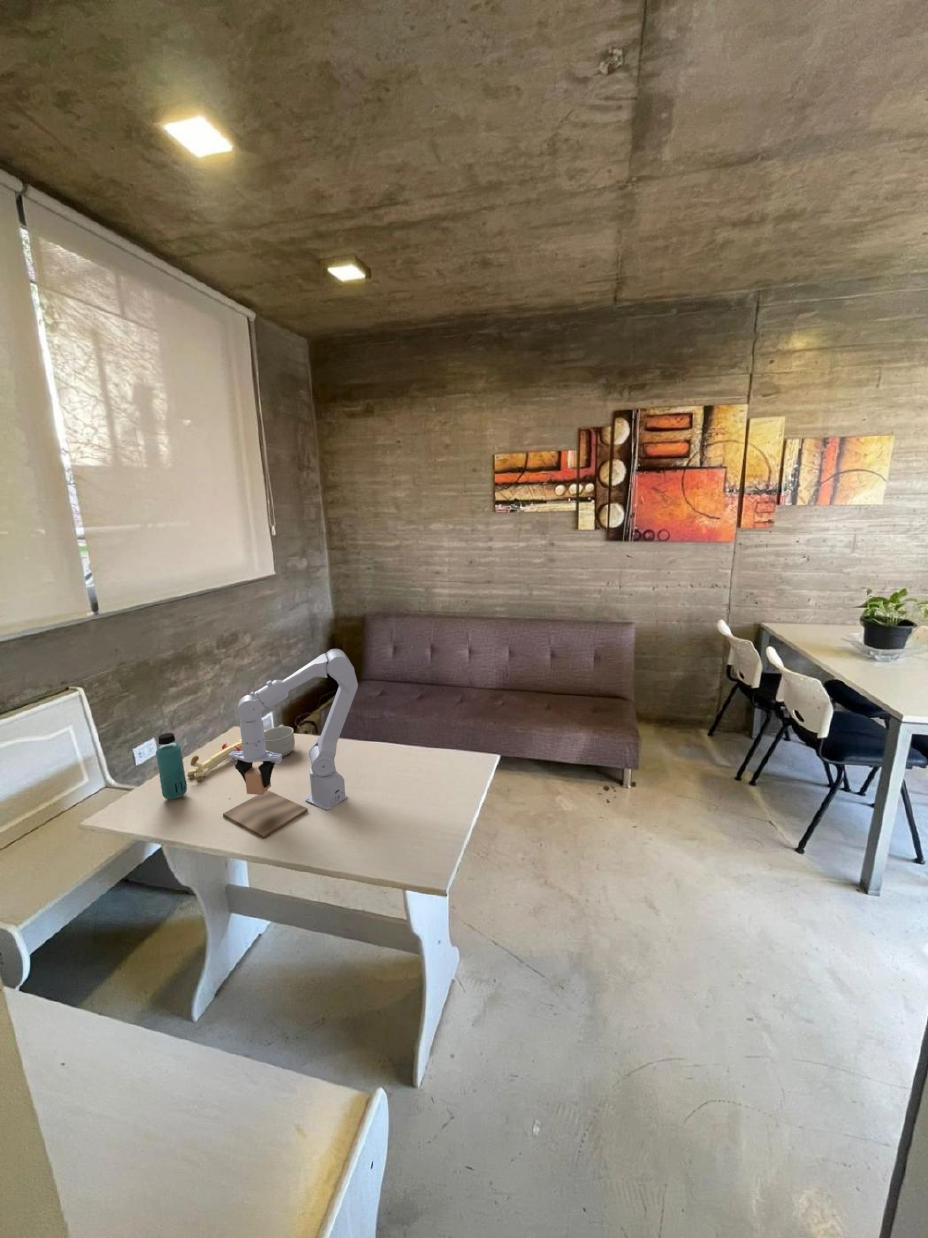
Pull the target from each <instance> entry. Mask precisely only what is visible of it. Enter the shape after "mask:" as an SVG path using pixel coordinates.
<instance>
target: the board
mask: <svg viewBox="0 0 928 1238" xmlns="http://www.w3.org/2000/svg"><path fill="white" fill-rule="evenodd" d="M308 812H309V809H308V808H307V807H306V806H303V805H301V804H299V803H296V802H295V801H293V800H290V799H289V798H286V797H283V796H282V795H279V794H277V793H275V792H273V791H271V790H269V789H268V790H267V791H266V792H265V793H264V794H263V795H254V796H253V797H251V798H250V799H247V800H246V801H244V802H242V803H240V804H238V805H236V806H235V807H233V808H231V809H229V810H227V811H225V812H223V813H222V818H225V819H226V820H228V821H230V822H232V823H234V824H235V825H236V826H239V827H240V828H243V829H244V830H246V831H248V832H249V833H252V834H253V835H256V836H257V837H259V838H261V839H263V840H265V839H266V838H268V837H270V836H271V835H273V834H274V833H276V832H278V831H279V830H281V829H283V828H284V827H286V826H288V825H289V824H291V823H292V822H293V821H296V820H297V819H298V818H300V817H302V816H303V815H305V814H306V813H308Z"/></svg>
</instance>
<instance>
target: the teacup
mask: <svg viewBox="0 0 928 1238" xmlns="http://www.w3.org/2000/svg"><path fill="white" fill-rule="evenodd" d="M294 731H295V730H294V727H290V726H286V725H284V724H279V726H276V727H272V728H270V729H267V730H264V736H265V745H266V751H270V752H273V753H276V754H282V758H284V757H285V756H288V755H289V754H290V753H291V752H292V751H293V749H294V748H295V746H296V745H295V744H296V743H295V732H294Z"/></svg>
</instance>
